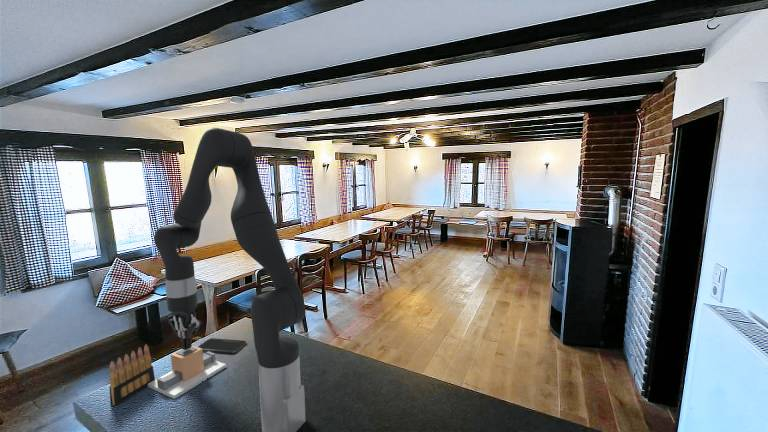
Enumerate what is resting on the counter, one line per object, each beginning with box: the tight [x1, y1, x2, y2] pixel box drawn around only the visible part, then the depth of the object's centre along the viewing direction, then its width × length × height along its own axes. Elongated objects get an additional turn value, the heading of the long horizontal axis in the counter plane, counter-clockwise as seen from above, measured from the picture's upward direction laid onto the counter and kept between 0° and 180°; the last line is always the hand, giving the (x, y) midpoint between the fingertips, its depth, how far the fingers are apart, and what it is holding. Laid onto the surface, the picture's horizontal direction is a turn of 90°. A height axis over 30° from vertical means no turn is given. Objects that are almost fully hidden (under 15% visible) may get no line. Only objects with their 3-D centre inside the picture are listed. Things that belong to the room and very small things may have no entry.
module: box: [170, 345, 204, 382], centre depth 95 cm, size 5×6×7 cm
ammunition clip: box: [109, 344, 156, 407], centre depth 88 cm, size 11×2×12 cm, turn 162°
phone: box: [197, 337, 247, 355], centre depth 113 cm, size 8×1×15 cm
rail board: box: [147, 351, 227, 400], centre depth 96 cm, size 12×16×4 cm
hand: (186, 348), depth 95 cm, fingers closed
